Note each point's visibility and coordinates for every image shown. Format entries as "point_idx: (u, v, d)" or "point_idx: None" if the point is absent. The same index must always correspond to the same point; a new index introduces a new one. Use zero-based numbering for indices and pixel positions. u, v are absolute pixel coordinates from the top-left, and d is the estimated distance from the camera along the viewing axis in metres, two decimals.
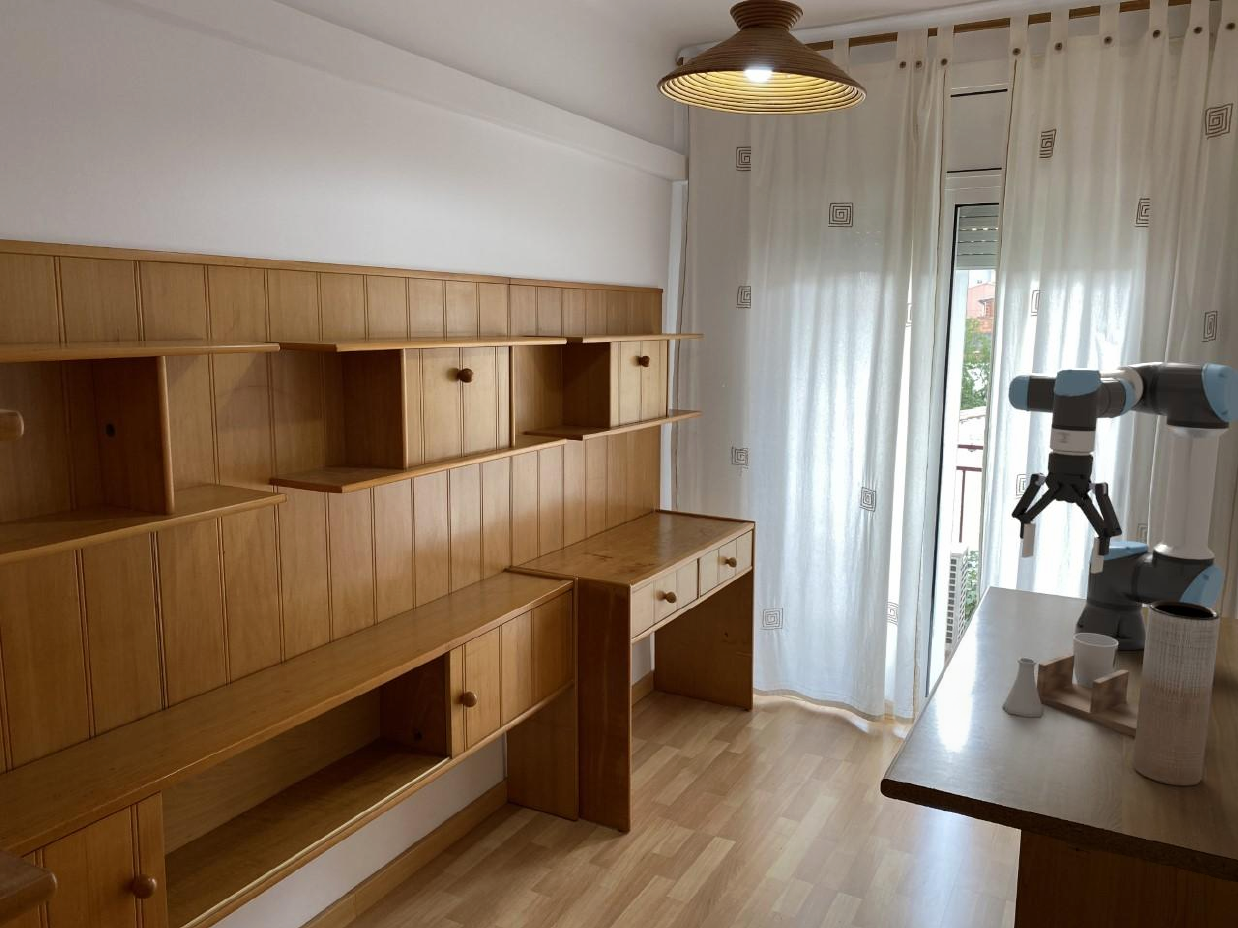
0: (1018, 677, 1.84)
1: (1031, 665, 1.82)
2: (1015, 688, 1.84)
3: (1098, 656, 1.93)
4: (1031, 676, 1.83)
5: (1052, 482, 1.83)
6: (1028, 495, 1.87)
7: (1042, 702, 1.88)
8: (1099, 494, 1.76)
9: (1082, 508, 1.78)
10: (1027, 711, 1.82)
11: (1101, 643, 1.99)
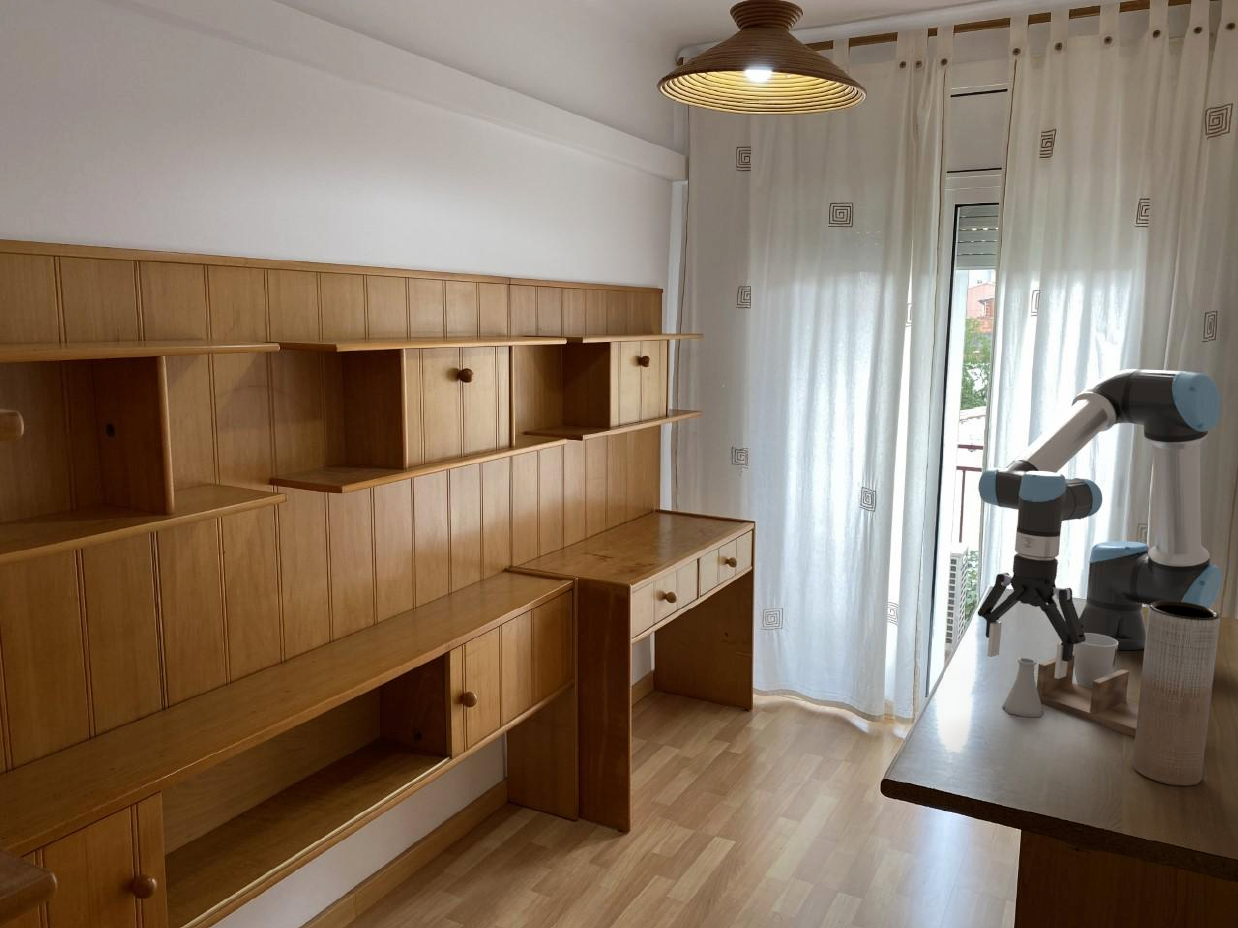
0: (1018, 677, 1.84)
1: (1031, 665, 1.82)
2: (1015, 688, 1.84)
3: (1098, 656, 1.93)
4: (1031, 676, 1.83)
5: (1017, 584, 1.83)
6: (994, 595, 1.87)
7: (1042, 702, 1.88)
8: (1063, 600, 1.76)
9: (1046, 613, 1.78)
10: (1027, 711, 1.82)
11: (1101, 643, 1.99)
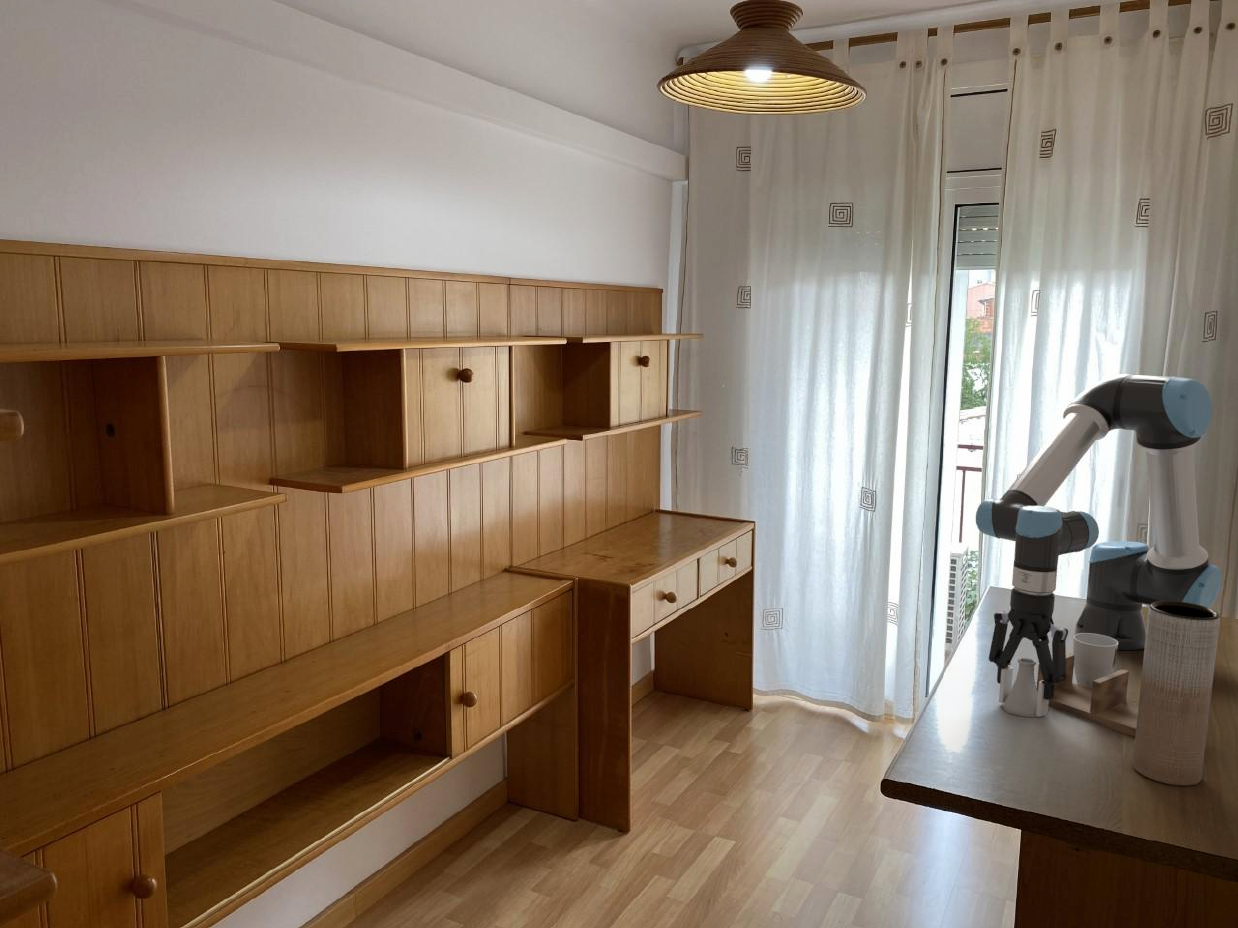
0: (1018, 677, 1.84)
1: (1031, 665, 1.82)
2: (1015, 689, 1.84)
3: (1098, 656, 1.93)
4: (1031, 676, 1.83)
5: (1015, 617, 1.84)
6: (998, 635, 1.87)
7: None
8: (1056, 640, 1.77)
9: (1037, 648, 1.80)
10: (1027, 711, 1.82)
11: (1101, 643, 1.99)
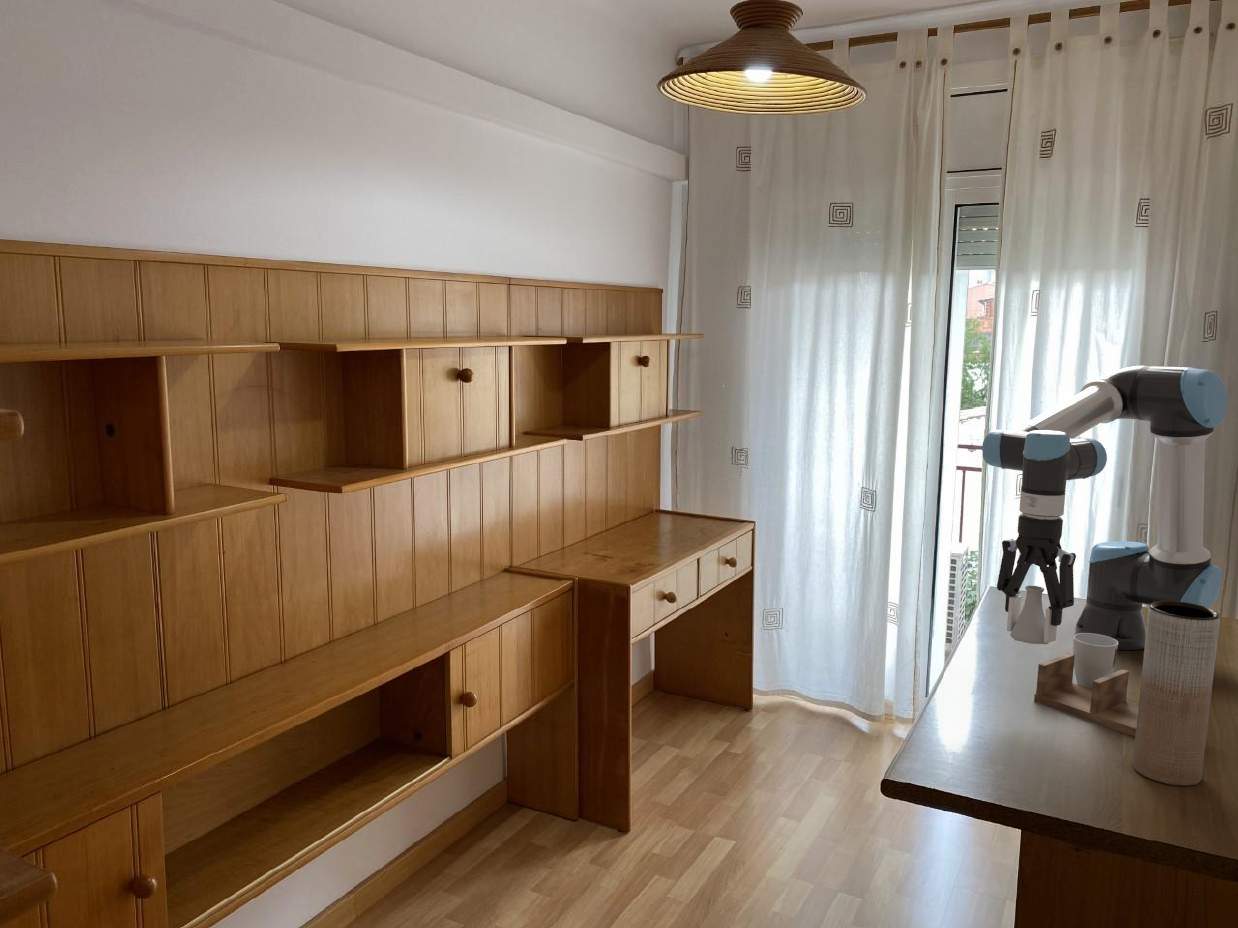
0: (1025, 604, 1.82)
1: (1038, 592, 1.80)
2: (1022, 616, 1.82)
3: (1098, 656, 1.93)
4: (1038, 603, 1.81)
5: (1022, 543, 1.82)
6: (1005, 563, 1.85)
7: (1042, 702, 1.88)
8: (1063, 565, 1.75)
9: (1044, 574, 1.78)
10: (1034, 638, 1.80)
11: (1101, 643, 1.99)
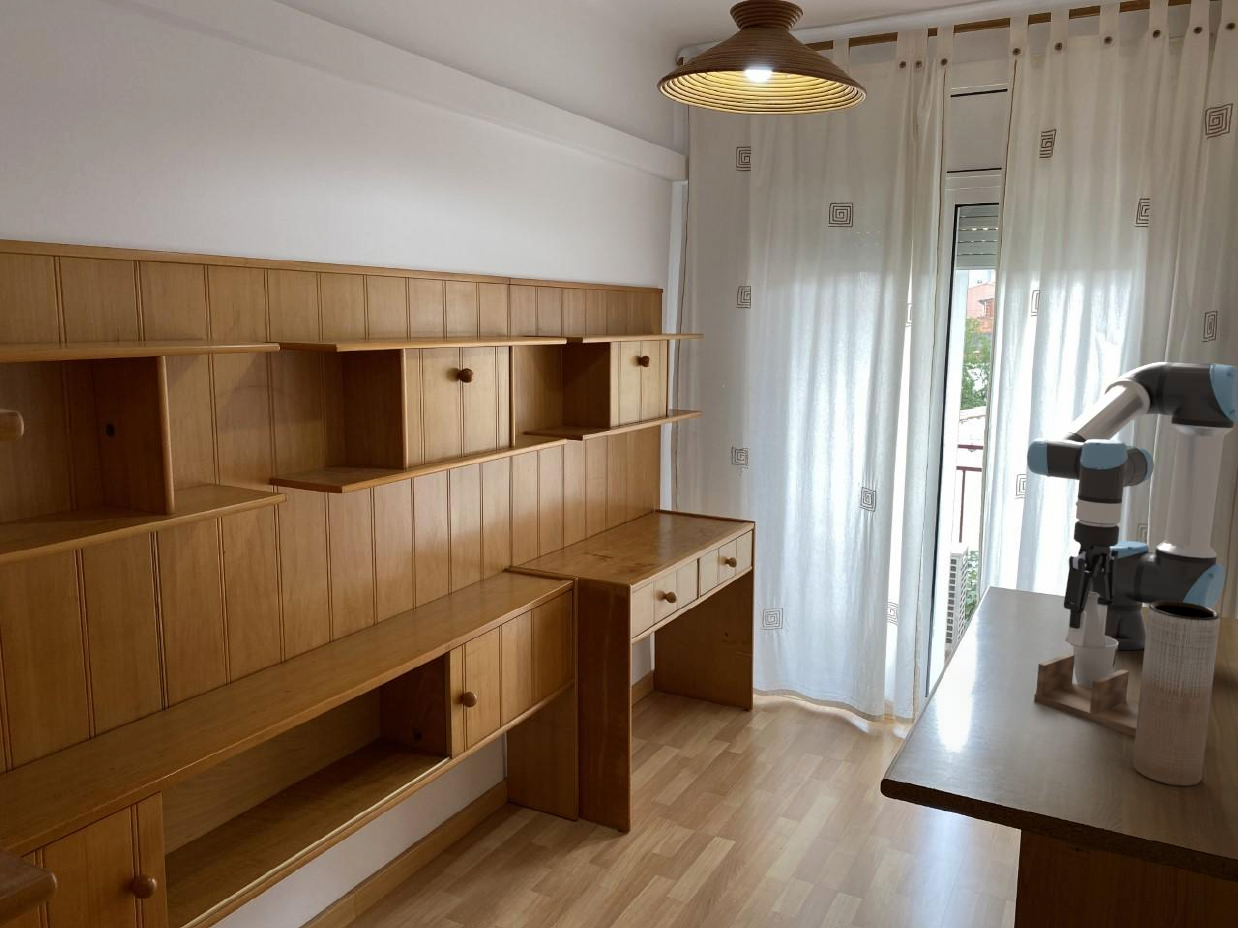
0: None
1: None
2: None
3: (1098, 656, 1.93)
4: None
5: None
6: None
7: (1042, 702, 1.88)
8: None
9: None
10: None
11: None
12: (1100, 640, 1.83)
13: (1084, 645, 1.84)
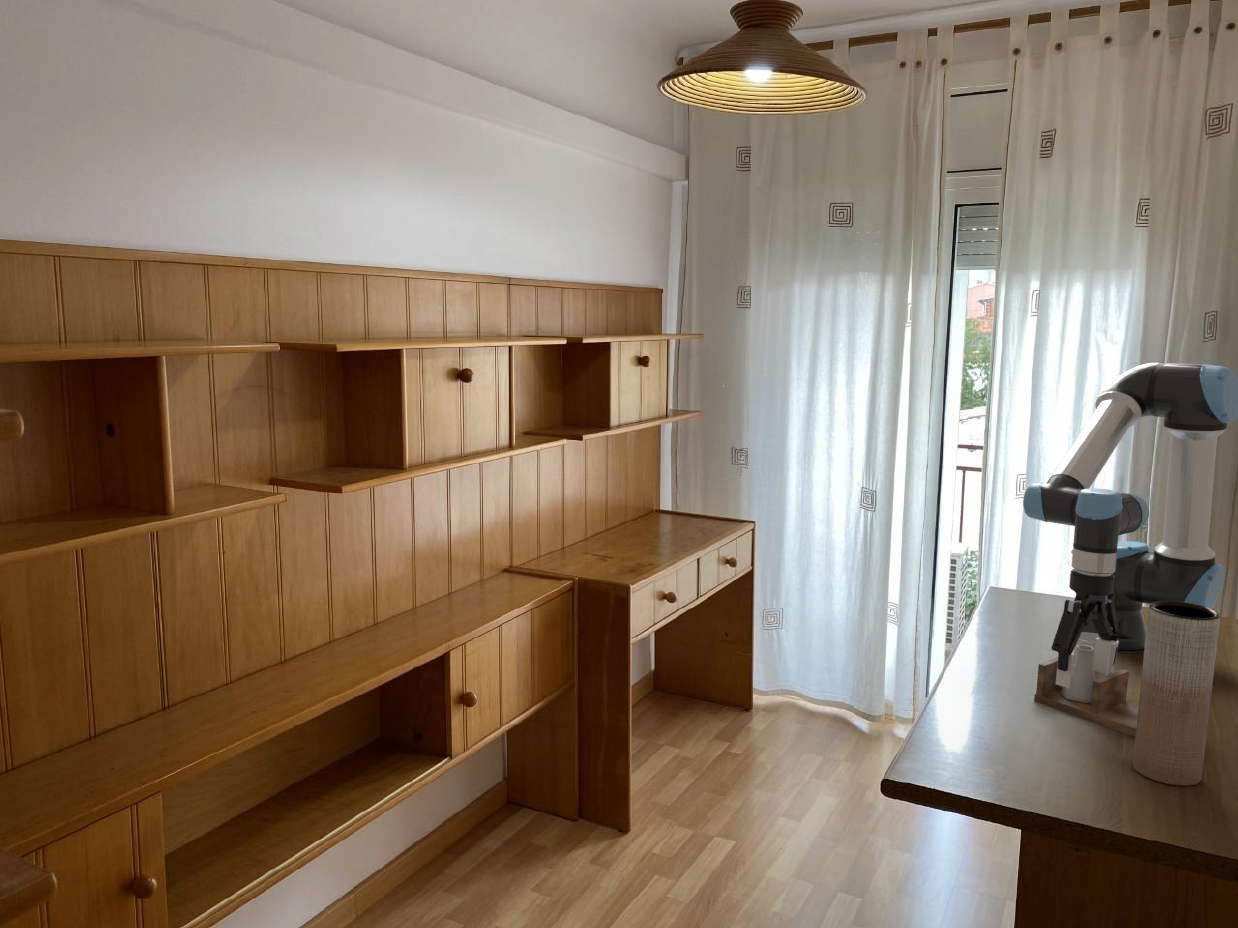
0: None
1: (1078, 650, 1.87)
2: None
3: None
4: (1078, 661, 1.87)
5: None
6: None
7: (1042, 702, 1.88)
8: None
9: None
10: (1063, 689, 1.89)
11: None
12: None
13: (1079, 699, 1.85)
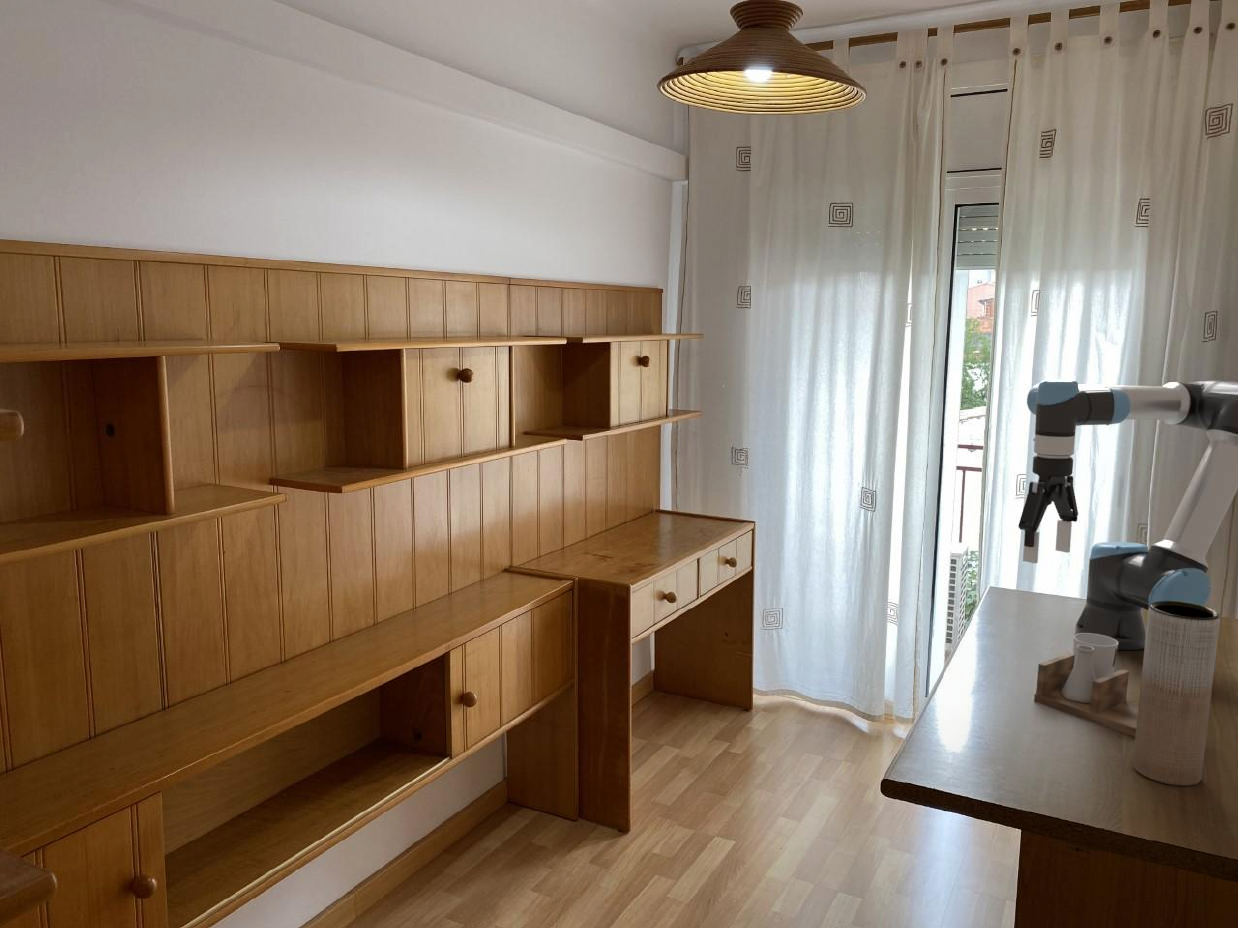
0: None
1: (1078, 650, 1.87)
2: None
3: (1098, 656, 1.93)
4: (1078, 661, 1.87)
5: None
6: None
7: (1042, 702, 1.88)
8: None
9: None
10: (1063, 689, 1.89)
11: (1101, 643, 1.99)
12: None
13: (1079, 699, 1.85)
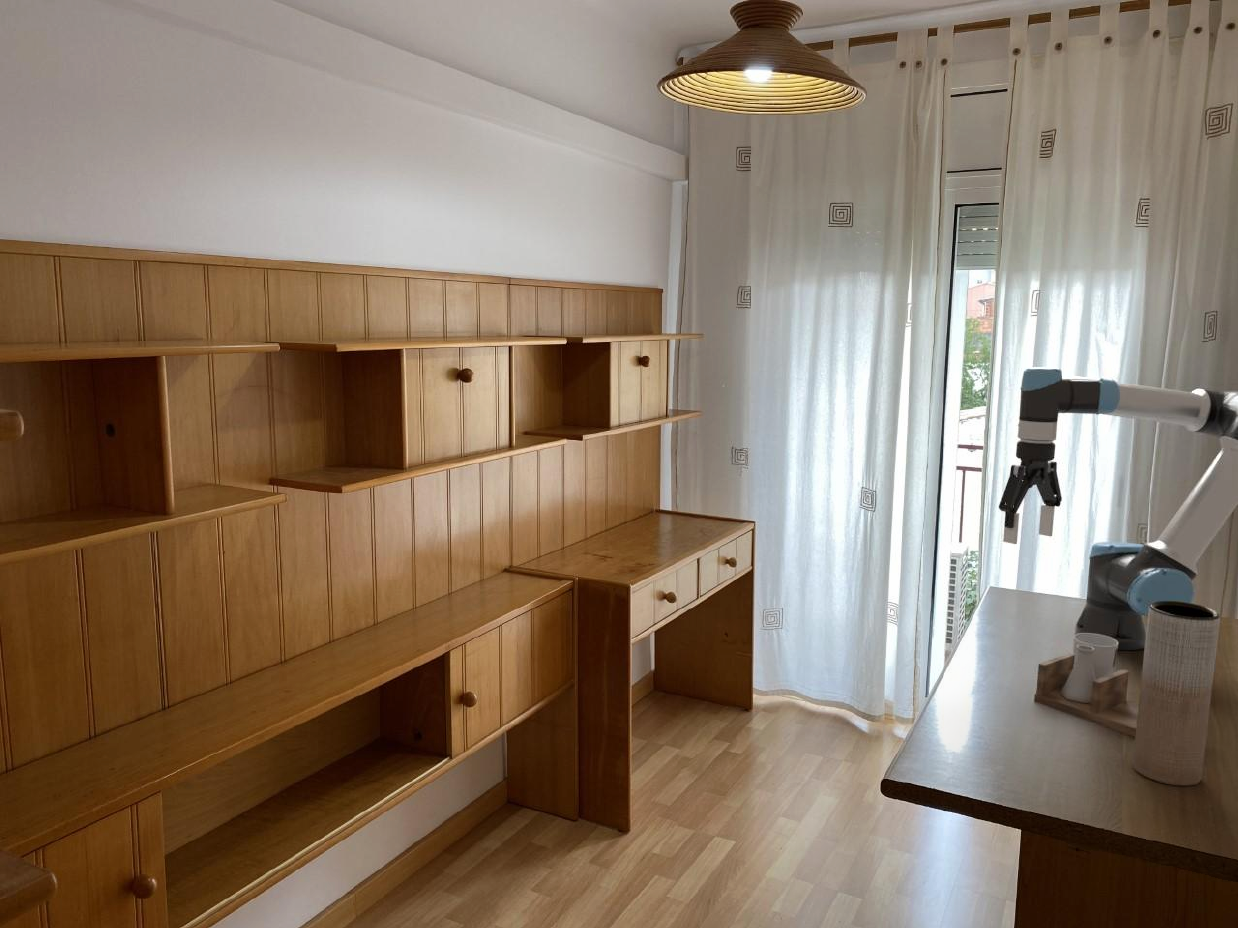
0: None
1: (1078, 650, 1.87)
2: None
3: (1098, 656, 1.93)
4: (1078, 661, 1.87)
5: None
6: None
7: (1042, 702, 1.88)
8: None
9: None
10: (1063, 689, 1.89)
11: (1101, 643, 1.99)
12: None
13: (1079, 699, 1.85)
